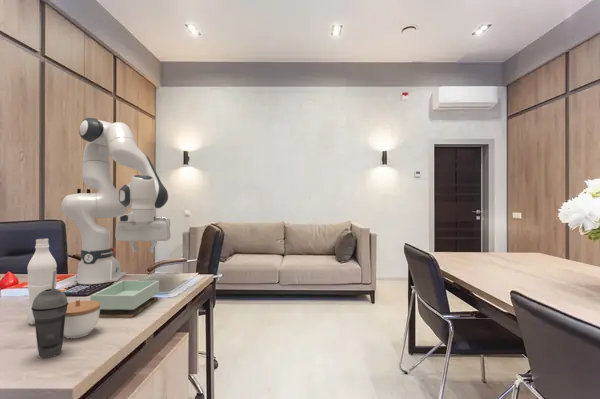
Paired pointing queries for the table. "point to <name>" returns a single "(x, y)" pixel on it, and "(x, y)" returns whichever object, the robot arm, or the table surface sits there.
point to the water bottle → (40, 273)
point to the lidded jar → (81, 318)
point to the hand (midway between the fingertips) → (143, 252)
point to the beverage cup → (50, 320)
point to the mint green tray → (126, 294)
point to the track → (123, 312)
